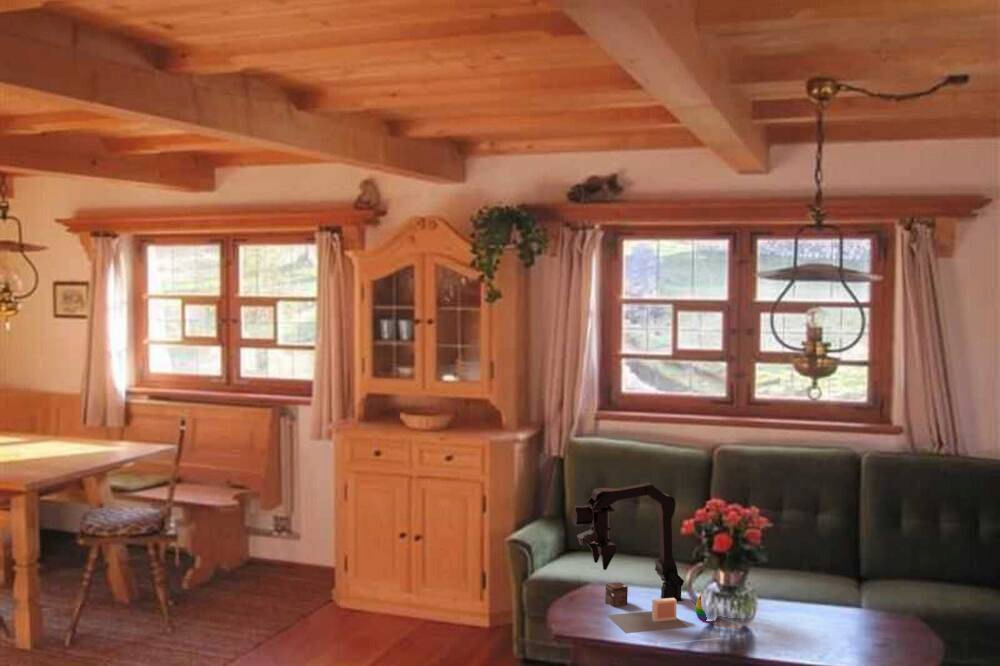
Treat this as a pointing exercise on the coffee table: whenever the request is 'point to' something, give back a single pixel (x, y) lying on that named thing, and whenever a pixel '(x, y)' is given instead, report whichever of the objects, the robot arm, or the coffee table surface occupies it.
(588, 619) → the coffee table surface
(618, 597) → the box
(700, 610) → the decorative egg
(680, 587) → the robot arm
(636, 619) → the mat
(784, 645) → the coffee table surface
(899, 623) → the coffee table surface
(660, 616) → the plaque
